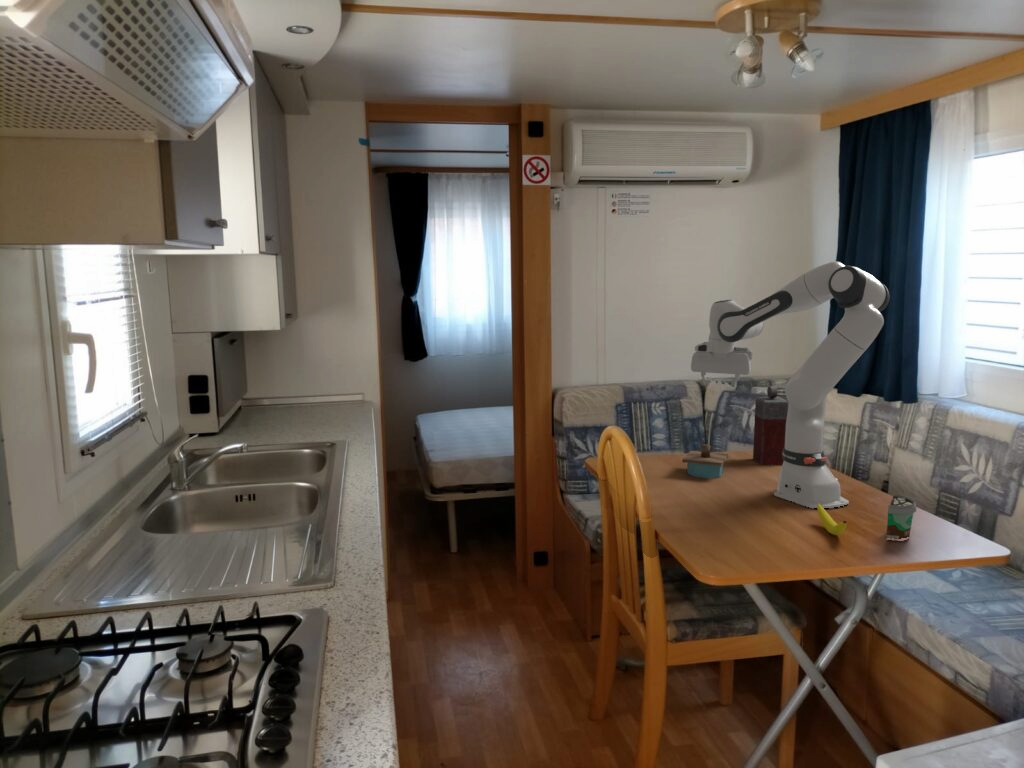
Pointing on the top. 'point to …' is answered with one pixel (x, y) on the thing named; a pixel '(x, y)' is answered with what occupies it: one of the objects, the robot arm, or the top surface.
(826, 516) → the banana
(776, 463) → the dark red canister
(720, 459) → the lid
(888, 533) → the food container
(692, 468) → the bowl
